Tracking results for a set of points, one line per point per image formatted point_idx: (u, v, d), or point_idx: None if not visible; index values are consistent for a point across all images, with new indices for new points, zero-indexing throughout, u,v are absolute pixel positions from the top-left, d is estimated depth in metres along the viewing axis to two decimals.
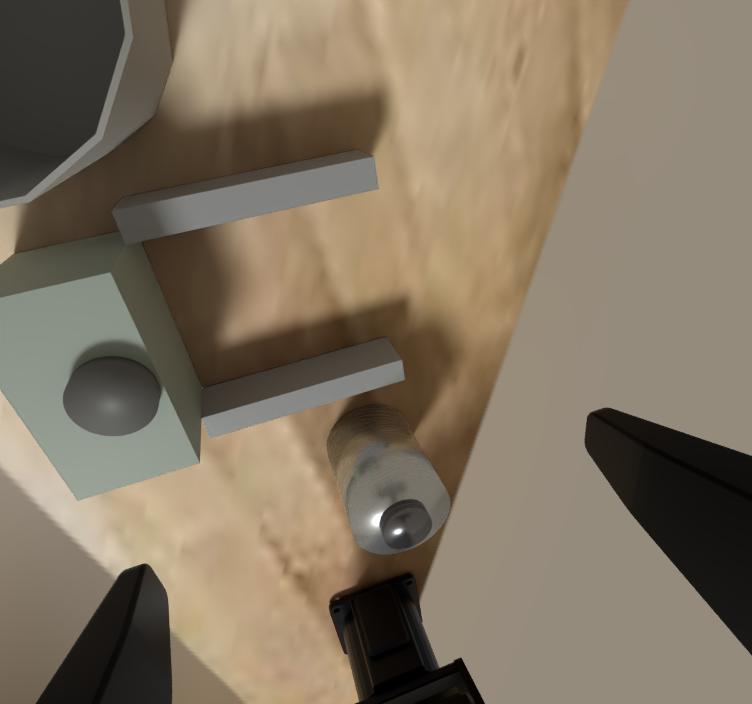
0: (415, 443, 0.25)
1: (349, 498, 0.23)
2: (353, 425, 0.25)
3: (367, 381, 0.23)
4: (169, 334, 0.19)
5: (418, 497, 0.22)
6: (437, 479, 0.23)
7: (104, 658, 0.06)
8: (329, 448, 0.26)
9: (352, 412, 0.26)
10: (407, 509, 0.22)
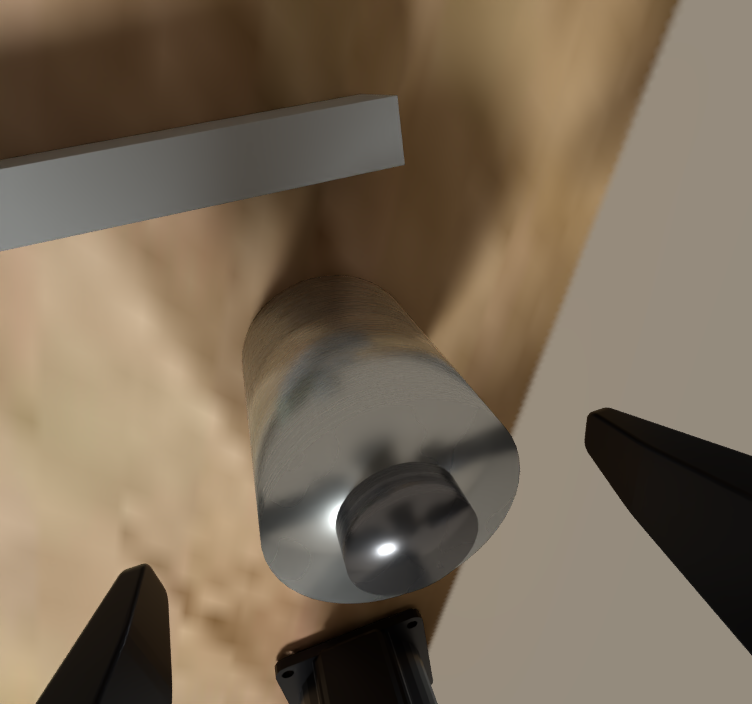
0: (429, 341, 0.11)
1: (260, 460, 0.09)
2: (290, 308, 0.11)
3: (306, 153, 0.09)
4: None
5: (441, 457, 0.08)
6: (490, 411, 0.09)
7: (104, 658, 0.06)
8: (243, 365, 0.12)
9: (293, 288, 0.12)
10: (411, 486, 0.08)
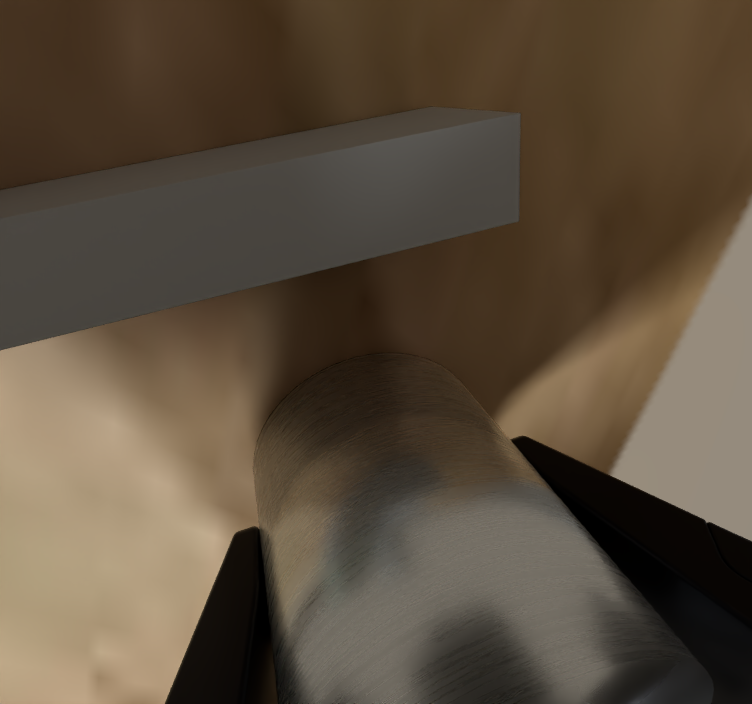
0: (533, 470, 0.07)
1: None
2: (324, 412, 0.08)
3: (369, 208, 0.05)
4: None
5: None
6: (677, 639, 0.05)
7: (244, 607, 0.07)
8: (256, 481, 0.09)
9: (324, 373, 0.09)
10: None
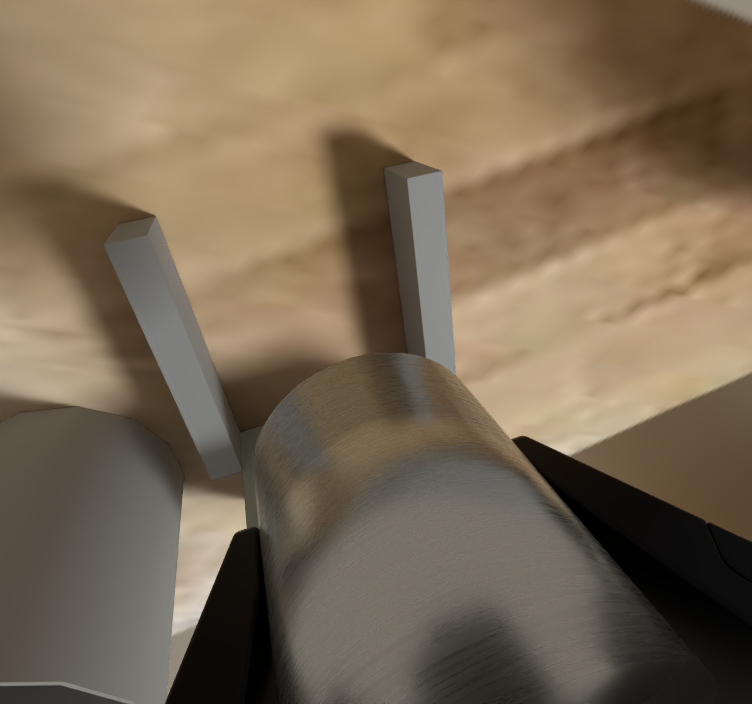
0: (534, 470, 0.07)
1: None
2: (324, 411, 0.08)
3: (430, 230, 0.16)
4: None
5: None
6: (680, 640, 0.05)
7: (244, 607, 0.07)
8: (255, 480, 0.09)
9: (324, 372, 0.09)
10: None
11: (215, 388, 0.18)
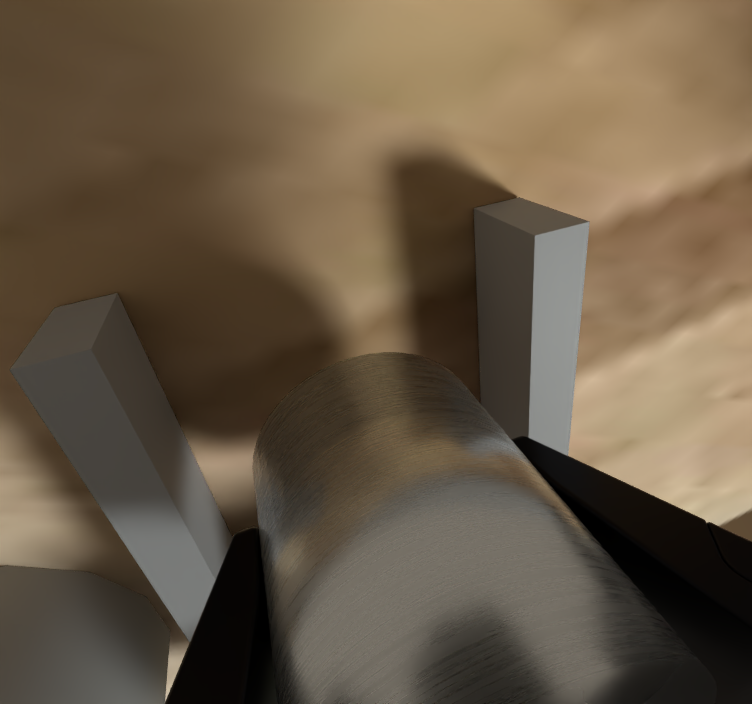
0: (534, 470, 0.07)
1: None
2: (324, 411, 0.08)
3: (559, 313, 0.10)
4: None
5: None
6: (680, 641, 0.05)
7: (244, 607, 0.07)
8: (255, 480, 0.09)
9: (324, 372, 0.09)
10: None
11: (214, 542, 0.12)
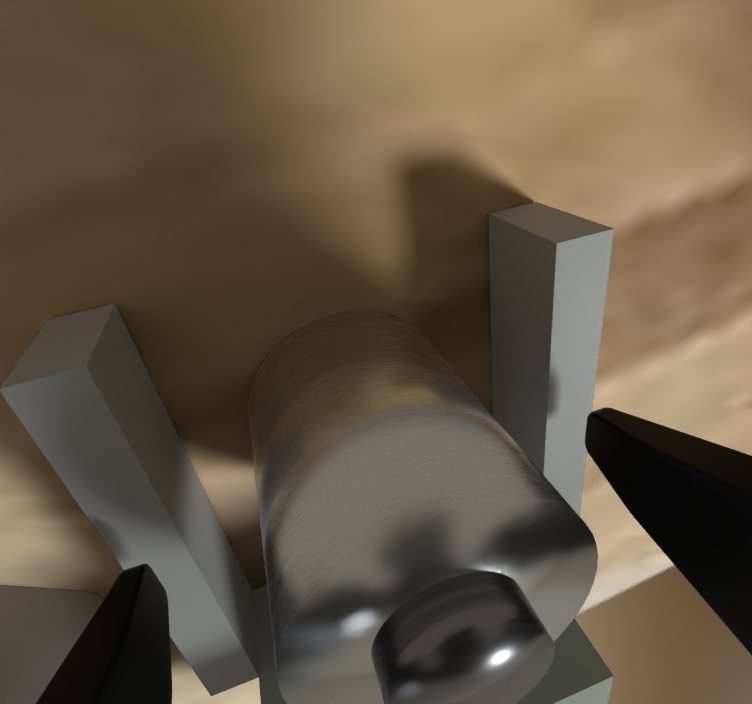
0: (474, 397, 0.09)
1: (275, 565, 0.07)
2: (306, 353, 0.10)
3: (579, 324, 0.10)
4: None
5: (505, 564, 0.07)
6: (565, 502, 0.07)
7: (104, 658, 0.06)
8: (250, 417, 0.10)
9: (308, 327, 0.11)
10: (475, 615, 0.06)
11: (217, 562, 0.11)
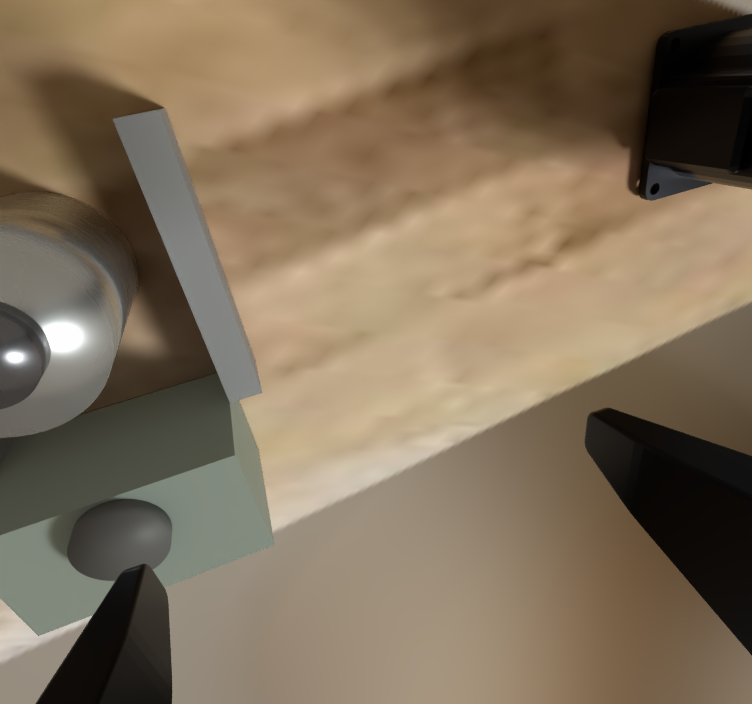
0: (73, 230, 0.13)
1: None
2: None
3: (165, 185, 0.13)
4: (120, 427, 0.17)
5: (6, 296, 0.10)
6: (55, 261, 0.11)
7: (104, 658, 0.06)
8: None
9: None
10: None
11: None
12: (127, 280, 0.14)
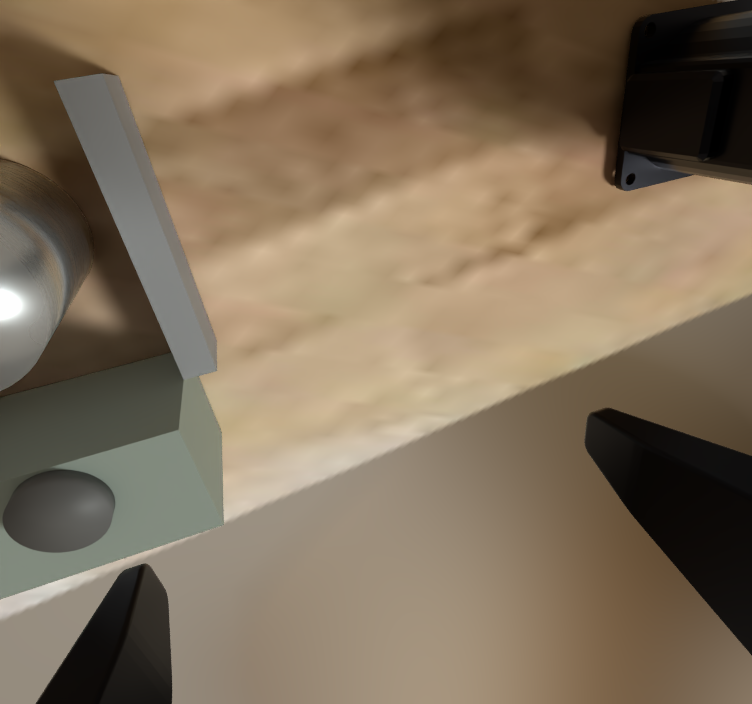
0: (12, 195, 0.13)
1: None
2: None
3: (110, 152, 0.13)
4: (72, 401, 0.17)
5: None
6: None
7: (104, 658, 0.06)
8: None
9: None
10: None
11: None
12: (75, 249, 0.14)
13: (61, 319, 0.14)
